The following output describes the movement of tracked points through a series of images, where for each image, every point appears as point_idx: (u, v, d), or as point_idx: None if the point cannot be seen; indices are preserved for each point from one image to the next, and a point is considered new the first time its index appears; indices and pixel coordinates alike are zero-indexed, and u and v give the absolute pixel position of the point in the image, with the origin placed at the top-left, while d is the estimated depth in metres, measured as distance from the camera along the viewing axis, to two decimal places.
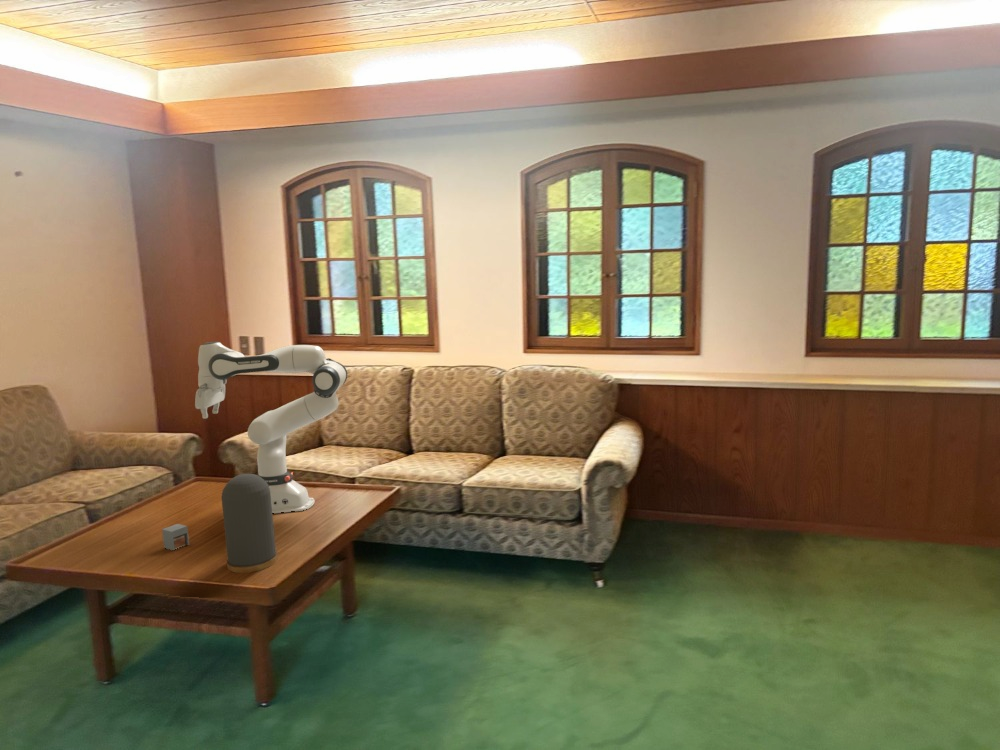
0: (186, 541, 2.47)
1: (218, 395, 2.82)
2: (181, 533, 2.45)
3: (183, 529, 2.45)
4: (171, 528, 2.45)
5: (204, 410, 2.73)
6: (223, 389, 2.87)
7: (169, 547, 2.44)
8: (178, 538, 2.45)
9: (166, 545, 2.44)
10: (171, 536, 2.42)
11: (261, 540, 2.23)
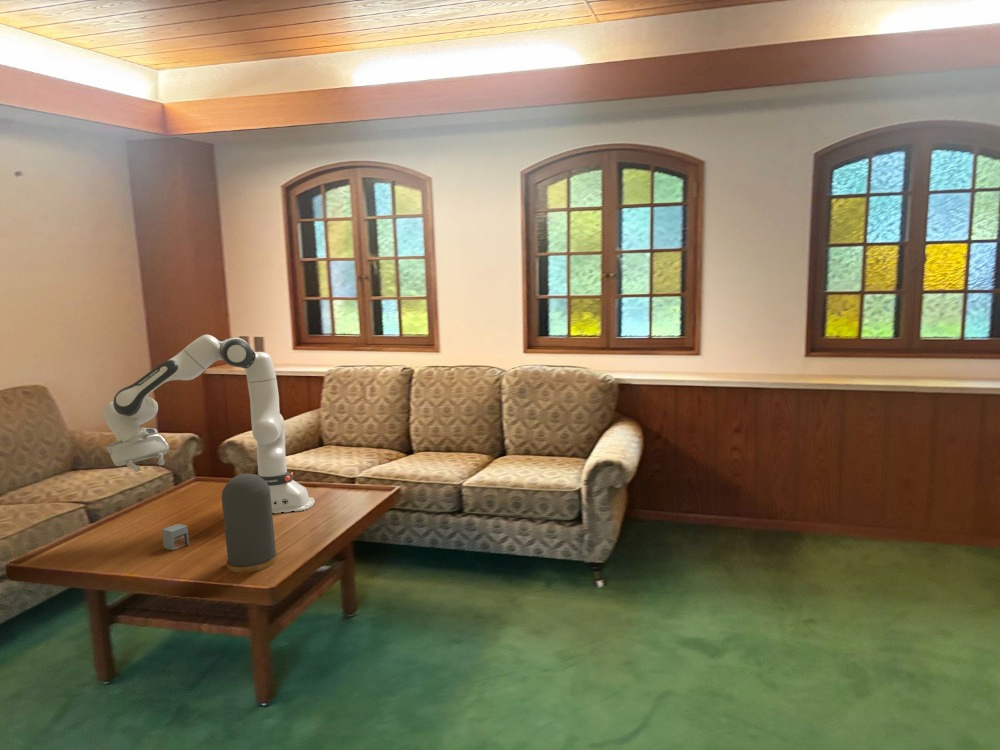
0: (186, 541, 2.47)
1: (150, 446, 2.59)
2: (181, 533, 2.45)
3: (183, 529, 2.45)
4: (171, 528, 2.45)
5: (129, 463, 2.50)
6: (159, 439, 2.63)
7: (169, 547, 2.44)
8: (178, 538, 2.45)
9: (166, 545, 2.44)
10: (171, 536, 2.42)
11: (261, 540, 2.23)
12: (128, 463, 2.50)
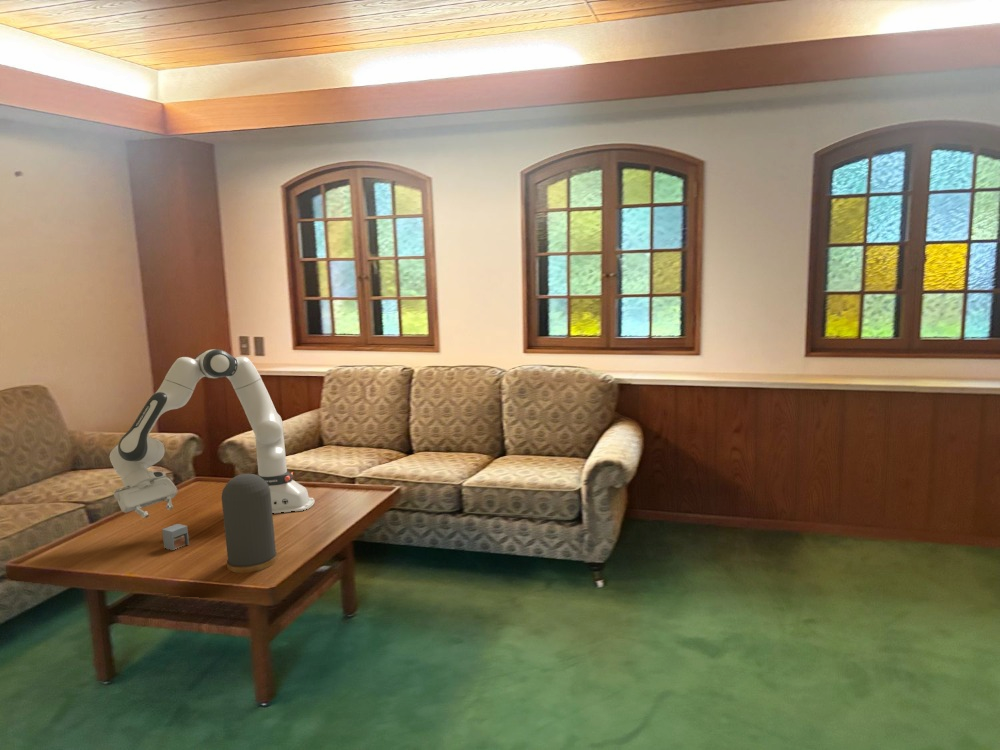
0: (186, 541, 2.47)
1: (158, 490, 2.53)
2: (181, 533, 2.45)
3: (183, 529, 2.45)
4: (171, 528, 2.45)
5: (137, 509, 2.44)
6: (167, 482, 2.57)
7: (169, 547, 2.44)
8: (178, 538, 2.45)
9: (166, 545, 2.44)
10: (171, 536, 2.42)
11: (261, 540, 2.23)
12: (136, 509, 2.44)
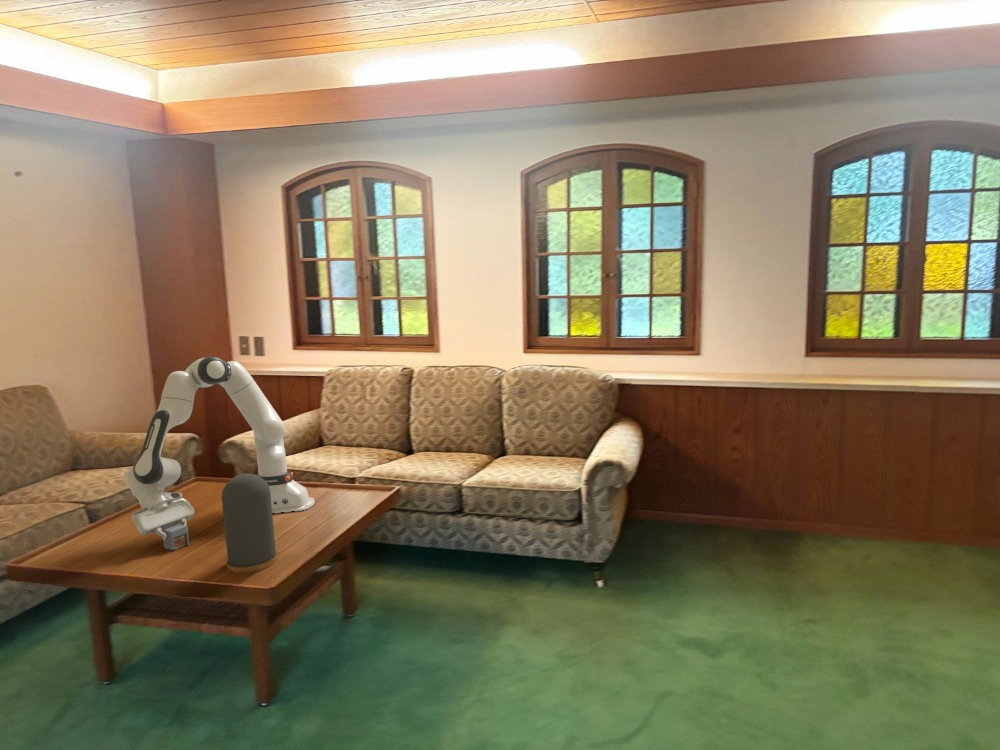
0: (186, 541, 2.47)
1: (176, 511, 2.49)
2: (181, 533, 2.45)
3: (183, 529, 2.45)
4: (171, 528, 2.45)
5: (157, 531, 2.41)
6: (184, 503, 2.54)
7: (169, 547, 2.44)
8: (178, 538, 2.45)
9: (166, 545, 2.44)
10: (171, 536, 2.42)
11: (261, 540, 2.23)
12: (156, 531, 2.42)
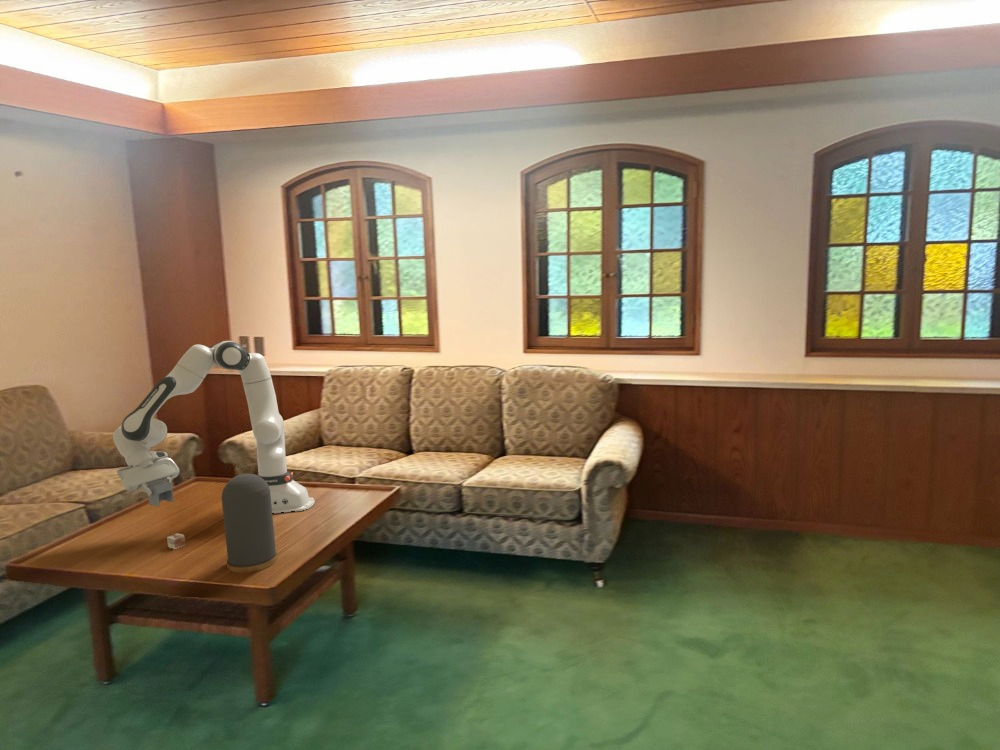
0: (171, 498, 2.55)
1: (161, 469, 2.57)
2: (166, 490, 2.52)
3: (168, 486, 2.53)
4: (156, 485, 2.52)
5: (142, 487, 2.49)
6: (169, 462, 2.61)
7: (153, 503, 2.51)
8: (178, 538, 2.45)
9: (151, 501, 2.52)
10: (156, 492, 2.50)
11: (261, 540, 2.23)
12: (142, 487, 2.49)
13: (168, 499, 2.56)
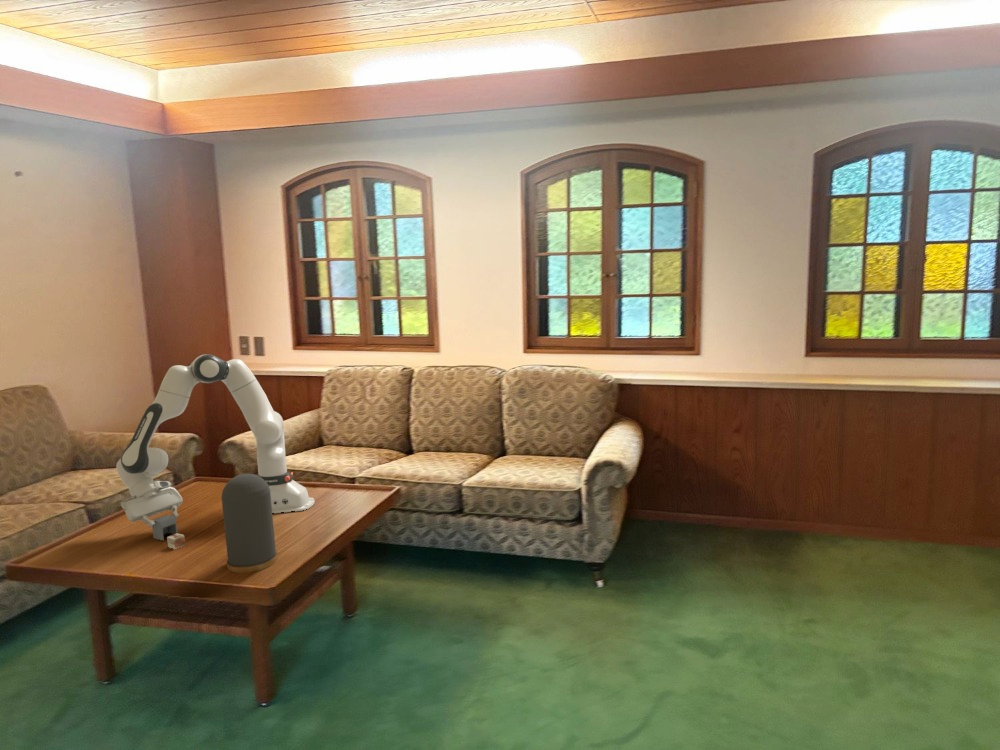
0: (175, 531, 2.57)
1: (164, 499, 2.59)
2: (170, 523, 2.55)
3: (172, 520, 2.55)
4: (160, 519, 2.55)
5: (143, 519, 2.50)
6: (173, 491, 2.63)
7: (158, 537, 2.54)
8: (178, 538, 2.45)
9: (155, 535, 2.54)
10: (160, 527, 2.52)
11: (261, 540, 2.23)
12: (143, 519, 2.51)
13: (172, 532, 2.58)
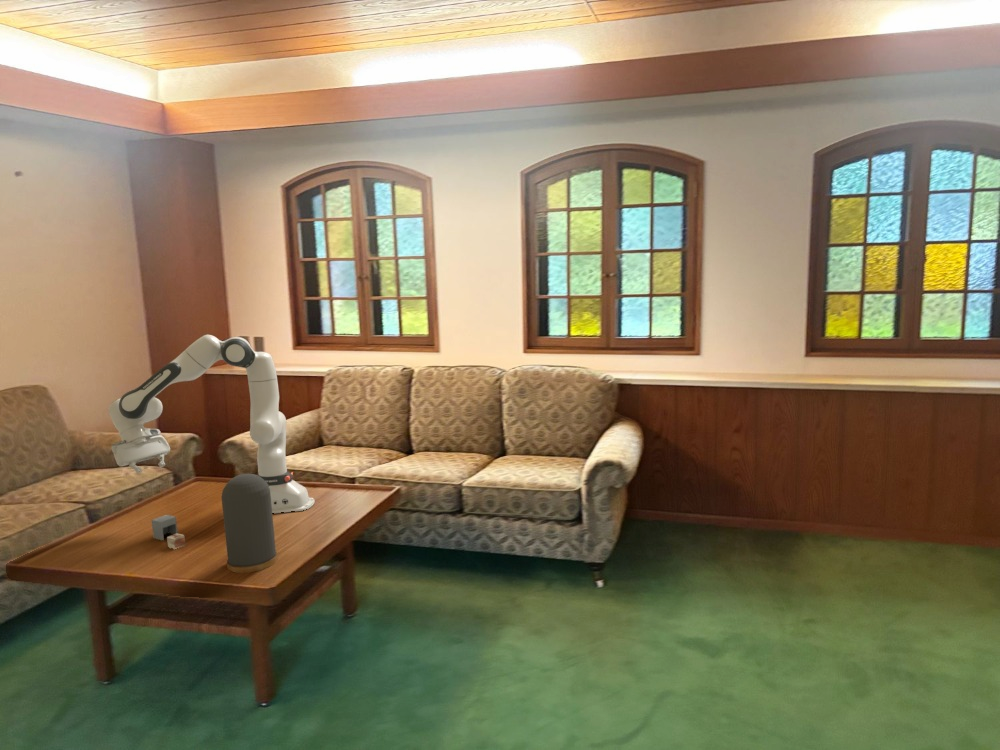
0: (175, 531, 2.57)
1: (153, 447, 2.65)
2: (170, 523, 2.55)
3: (172, 520, 2.55)
4: (160, 519, 2.55)
5: (131, 465, 2.57)
6: (161, 440, 2.69)
7: (158, 537, 2.54)
8: (178, 538, 2.45)
9: (155, 535, 2.54)
10: (160, 527, 2.52)
11: (261, 540, 2.23)
12: (131, 464, 2.57)
13: (172, 532, 2.58)
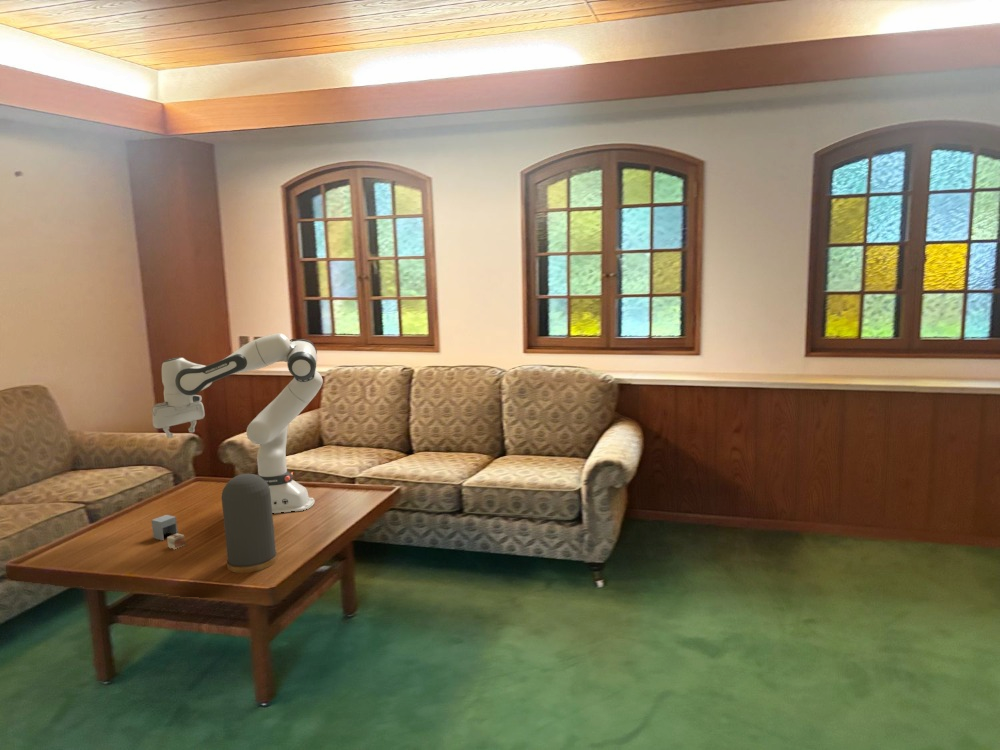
0: (175, 531, 2.57)
1: (189, 414, 2.70)
2: (170, 523, 2.55)
3: (172, 520, 2.55)
4: (160, 519, 2.55)
5: (165, 429, 2.63)
6: (199, 407, 2.73)
7: (158, 537, 2.54)
8: (178, 538, 2.45)
9: (155, 535, 2.54)
10: (160, 527, 2.52)
11: (261, 540, 2.23)
12: (164, 428, 2.63)
13: (172, 532, 2.58)
